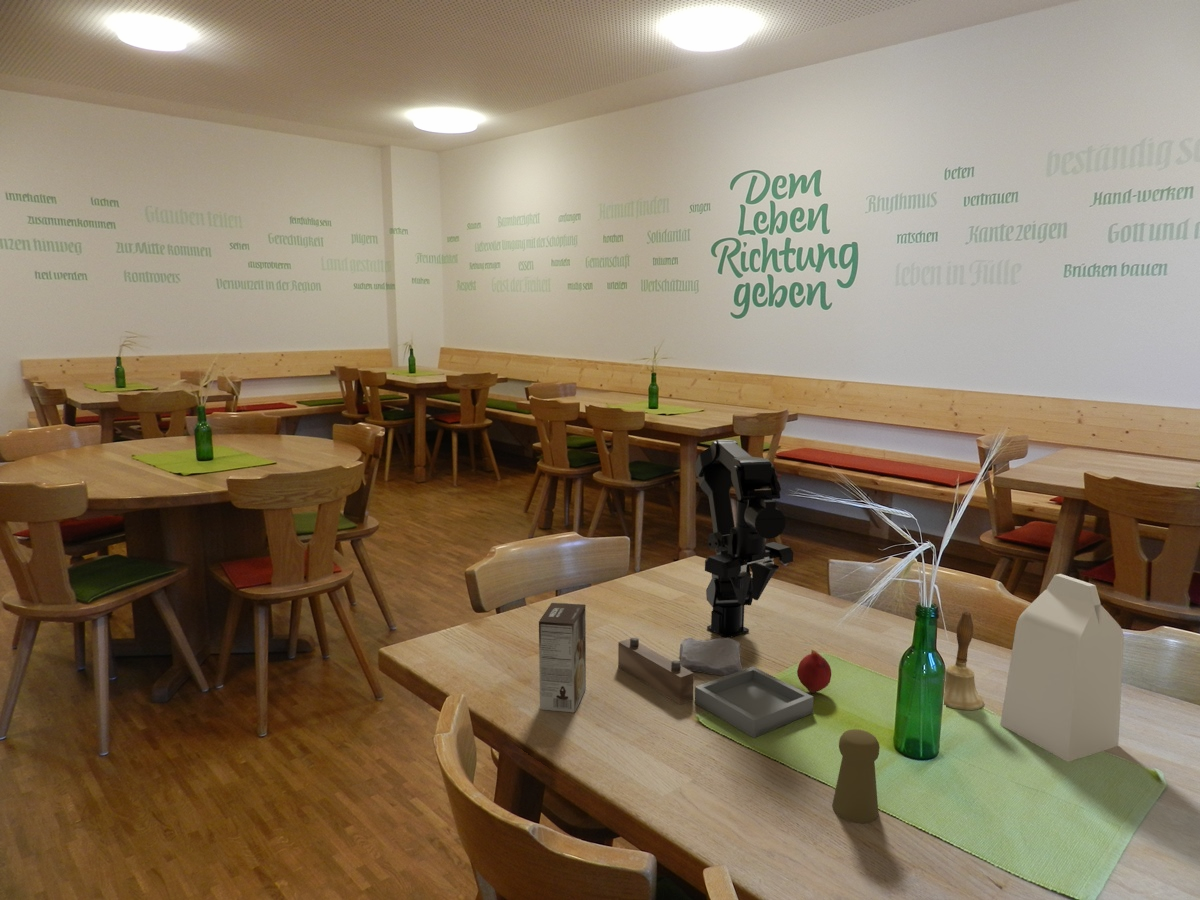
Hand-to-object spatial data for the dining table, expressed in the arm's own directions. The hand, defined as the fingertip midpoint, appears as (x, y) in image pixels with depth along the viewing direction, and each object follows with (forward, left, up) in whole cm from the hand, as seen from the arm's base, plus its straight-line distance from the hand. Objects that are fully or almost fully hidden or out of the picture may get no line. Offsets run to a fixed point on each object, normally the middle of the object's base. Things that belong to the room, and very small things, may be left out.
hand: (748, 601), depth 156 cm
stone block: (+9, -1, -12) cm, 15 cm away
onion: (+2, +18, -11) cm, 21 cm away
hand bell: (-17, +34, -11) cm, 40 cm away
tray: (+15, +16, -11) cm, 24 cm away
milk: (-19, +50, -11) cm, 55 cm away
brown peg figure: (+24, +44, -11) cm, 51 cm away
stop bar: (+23, -1, -11) cm, 25 cm away
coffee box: (+40, -5, -11) cm, 41 cm away
